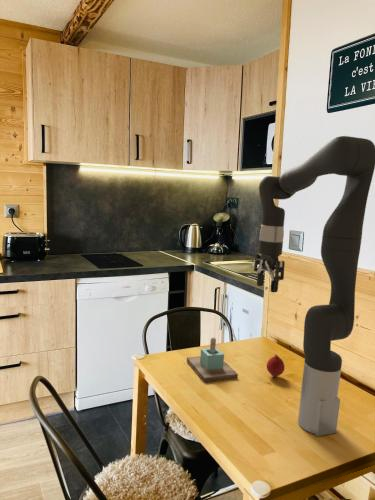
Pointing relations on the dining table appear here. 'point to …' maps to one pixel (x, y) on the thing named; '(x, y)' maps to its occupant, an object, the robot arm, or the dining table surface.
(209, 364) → the bead
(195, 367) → the stand
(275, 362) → the onion
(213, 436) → the dining table surface
